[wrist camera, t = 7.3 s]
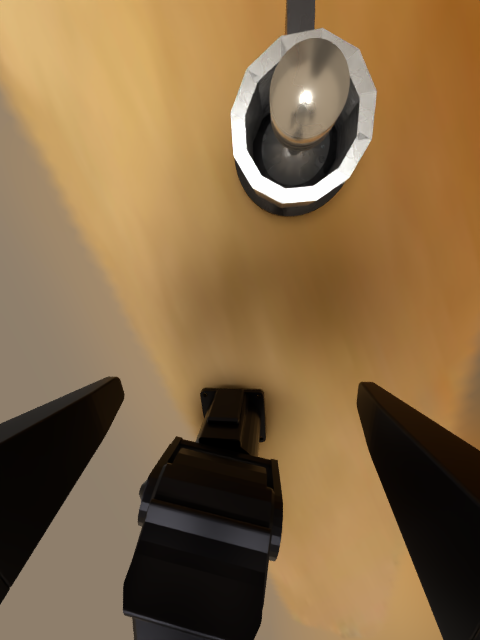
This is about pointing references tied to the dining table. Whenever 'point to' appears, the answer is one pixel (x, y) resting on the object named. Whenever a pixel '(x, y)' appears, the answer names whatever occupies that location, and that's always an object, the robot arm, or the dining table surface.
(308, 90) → the plunger
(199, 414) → the dining table surface
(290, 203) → the octagonal collar cylinder
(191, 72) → the dining table surface
